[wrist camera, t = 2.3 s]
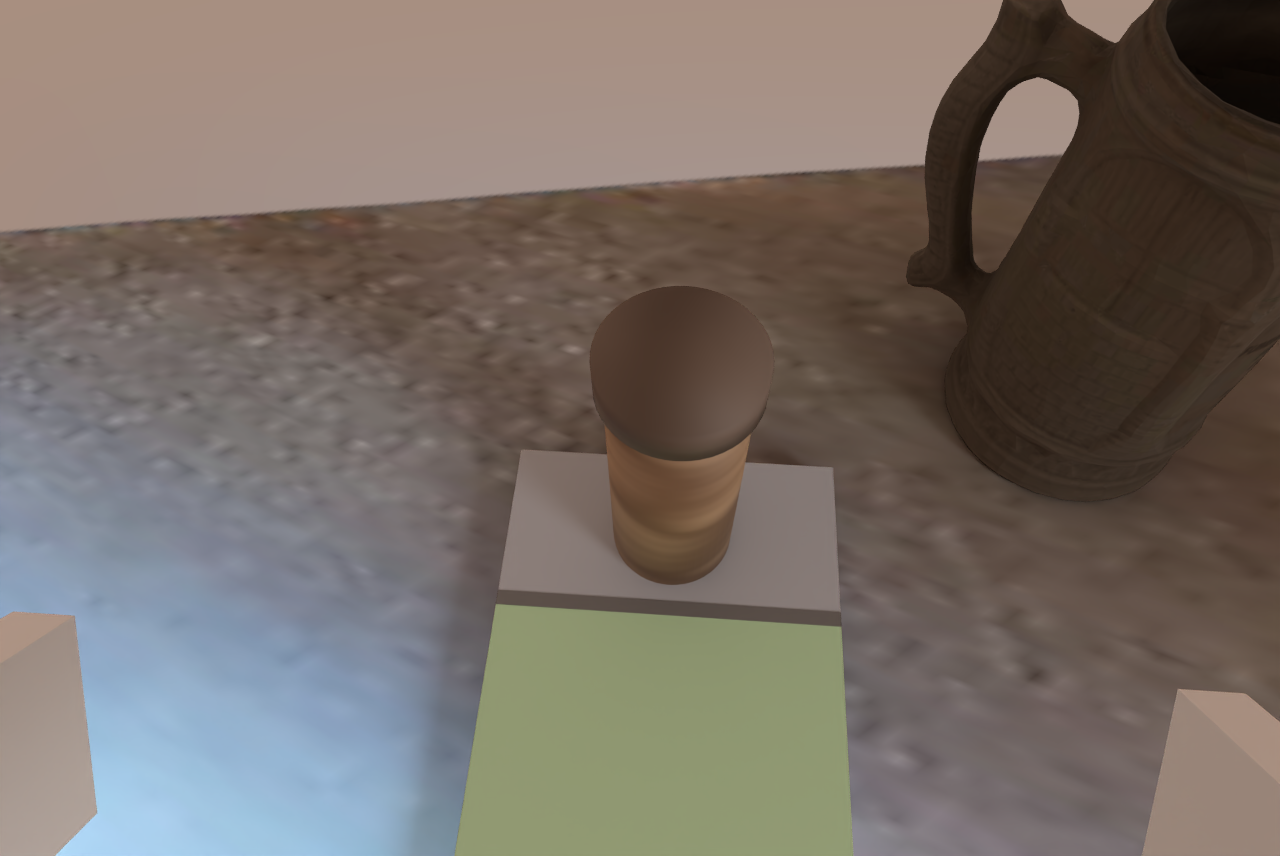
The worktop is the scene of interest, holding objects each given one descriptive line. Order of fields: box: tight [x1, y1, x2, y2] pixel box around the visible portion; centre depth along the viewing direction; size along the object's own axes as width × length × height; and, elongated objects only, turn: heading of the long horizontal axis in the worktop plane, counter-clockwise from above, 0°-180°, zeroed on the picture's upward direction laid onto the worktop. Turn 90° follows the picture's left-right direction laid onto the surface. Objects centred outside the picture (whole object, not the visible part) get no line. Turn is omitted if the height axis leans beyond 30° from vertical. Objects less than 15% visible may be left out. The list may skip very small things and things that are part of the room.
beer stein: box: [906, 0, 1280, 502], centre depth 34 cm, size 15×11×20 cm
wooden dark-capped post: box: [590, 286, 774, 585], centre depth 31 cm, size 6×6×12 cm
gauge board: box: [455, 449, 853, 856], centre depth 33 cm, size 14×24×1 cm, turn 176°
